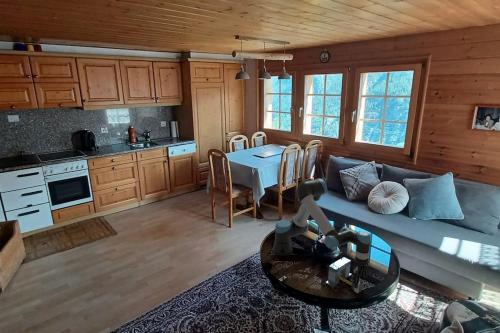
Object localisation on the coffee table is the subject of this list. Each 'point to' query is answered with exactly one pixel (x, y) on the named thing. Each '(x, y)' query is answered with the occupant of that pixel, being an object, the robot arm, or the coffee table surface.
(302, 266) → the coffee table surface
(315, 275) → the coffee table surface
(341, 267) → the housing
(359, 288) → the yellow handled grey mallet
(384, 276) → the coffee table surface
